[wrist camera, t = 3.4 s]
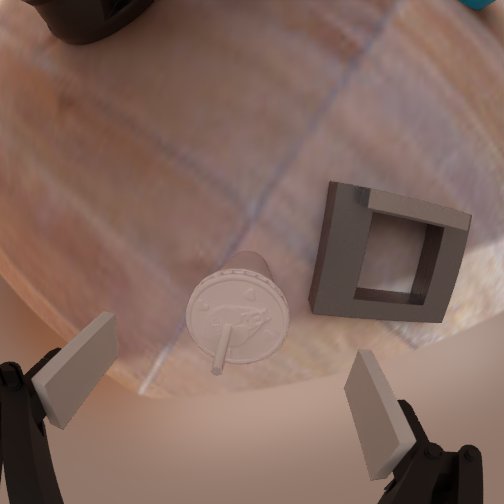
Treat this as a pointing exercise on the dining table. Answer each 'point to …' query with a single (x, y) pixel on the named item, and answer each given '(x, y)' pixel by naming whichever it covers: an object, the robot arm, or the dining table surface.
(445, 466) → the robot arm
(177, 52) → the dining table surface
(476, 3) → the mug
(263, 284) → the smoothie
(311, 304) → the jig
